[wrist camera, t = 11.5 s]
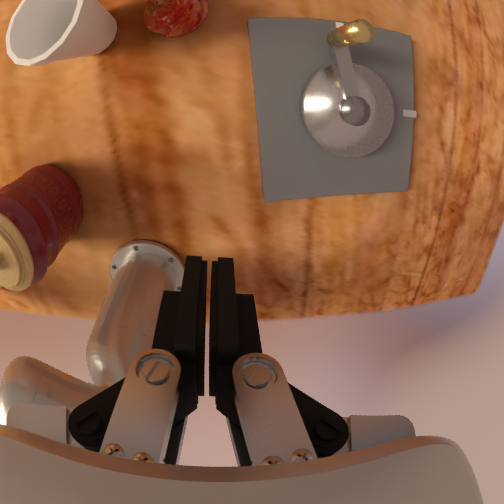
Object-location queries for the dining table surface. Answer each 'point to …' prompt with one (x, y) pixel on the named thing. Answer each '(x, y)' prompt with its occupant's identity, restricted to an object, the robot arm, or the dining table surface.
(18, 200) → the canister
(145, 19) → the pomegranate
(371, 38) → the crank handle
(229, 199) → the dining table surface
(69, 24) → the foam cup
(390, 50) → the base
